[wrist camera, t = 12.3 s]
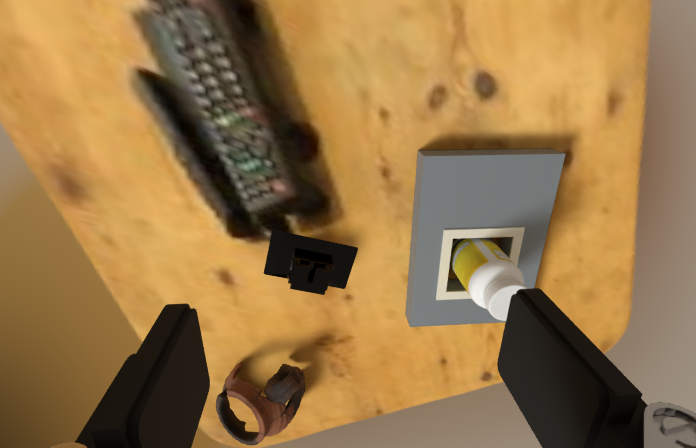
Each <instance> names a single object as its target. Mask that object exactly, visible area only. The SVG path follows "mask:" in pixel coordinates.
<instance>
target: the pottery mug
mask: <svg viewBox="0 0 696 448" xmlns="http://www.w3.org/2000/svg"><path fill="white" fill-rule="evenodd" d="M241 367H242V366H241V364H239V365H237V366H236V367H235V368H234V369H233V370H232V371H231V373H230V374H229V375H228V377H227V378H226V380H225V384H224V387H223V392H222V393H221V394H219V395H218V397H217V400H216V410H217V413H218V415H219V419H220V421H221V423H222V424H223V426H224V428H225V429H226V430H227V431H228V433H229V434H230V435H231V436H232V437H234V438H235V439H236V440H238V441H239V442H241V443H244V444H246V445H256V444H258V443H260V442H261V441H262V440H263V439H264V437H265V436H267V437H268V436H273V435H275V434H278V433H280V432H281V431H282V430H283V429H285V428H286V427H287V425H288V424H289V423H290V422H291V420H292V419H293V418H294V416H295V414H296V412H297V410H298V408H299V406H300V402H301V399H302V396H303V394H304V392H305V381H304V379H305V378H304V374H303V371H302V370H300V369H299V368H298V367H292V366H290V365H287V364H282V366H281V367H280V369H279V371H278V372H277V373H276V374H274V375H273V377H272V378H270V379H269V381H268V382H267V386H266V388H265V395H266V396H267V397H264V396H261V395H260V393H261V388H259V387H256V386H254V385H252V384H250V383H247V382H244V381H242V380H239V379H235V378H236V375H237V373H238V371H239V370H240V369H241ZM227 395H228V396H229V397H234V398H238V399H239V400H241V401H242V402H244V403H245V404H246V405H247V406H248V407H249V408H250V409H251V410H252V412H253V413H254V415H255V417H256V419H257V421H258V425H259V432H247V431H245V424H246V422H244V421H240V420H239V419H238V418H237V417H236V416H235V414H234V412H233V411H232V410H231V409H230V404H229V400H228V397H227ZM289 399H290V400H289ZM288 400H289V402H288V404H287V406H286V405H285V404H286V402H287V401H288Z"/></svg>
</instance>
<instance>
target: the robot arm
mask: <svg viewBox="0 0 696 448" xmlns="http://www.w3.org/2000/svg"><path fill="white" fill-rule="evenodd" d="M497 364H498V371H499V373H500V376H501V377H502V379H503V381H504V382H505V384H506V386H507V387H508V389H509V391H510V393H511V394H512V396H513V397H514V400H515V401H516V403H517V405H518V406H519V408H520V410H521V411H522V413H523V415H524V417H525V418H526V420H527V422H528V424H529V425H530V427H531V429H532V431H533V432H534V434H535V435H536V437H537V439H538V441H539V443H540V444H541V446H542V448H696V413H694V412H692V411H690V410H687V409H685V408H683V407H680V406H677V405H674V404H671V403H663V402H657V403H651V404H650V405H647V404H646V403H645V402H644V401H643V400H642V399H641V396H642V393H641V392H640V391H639V390H638V389H637V388H636V387H635V386H634V385H633V384H632V383H631V382H630V381H629V380H628V379H627V378H626V377H625V376H624V375H623V374H622V373H621V372H620V371H619V370H618V368H617V367H616V366H615V365H614V364H613V363H612V362H611V361H610V360H609V359H608V358H607V357H606V356H605V355H604V354H603V353H602V352H601V351H600V350H599V349H598V348H597V347H596V346H595V345H594V344H593V343H592V342H591V341H590V340H589V339H588V338H587V337H586V335H585V334H584V333H583V332H582V331H581V330H580V329H579V328H578V327H577V326H576V325H575V324H574V323H573V322H572V321H571V320H570V319H569V318H568V317H567V316H566V315H565V314H564V313H563V312H562V311H561V310H560V309H559V308H558V307H557V306H556V305H555V304H554V302H553V301H552V300H551V299H550V298H549V297H548V296H547V295H546V294H545V293H544V292H543V291H542V290H540V289H538V288H532V289H519V290H518V291H517V292H516V294H513V295H512V296H511V300H510V304H509V309H508V314H507V319H506V324H505V329H504V333H503V338H502V343H501V348H500V353H499V357H498V363H497ZM209 387H210V379H209V373H208V368H207V363H206V358H205V352H204V347H203V342H202V337H201V331H200V326H199V321H198V316H197V311H196V309H194V308H193V309H190V306H189V305H188V304H168V305H166V306H165V307H164V308H163V310H162V312H161V313H160V315H159V317H158V318H157V320H156V322H155V323H154V325H153V326H152V328H151V330H150V331H149V333H148V335H147V336H146V338H145V340H144V341H143V343H142V345H141V347H140V348H139V350H138V352H137V353H136V354H132V355H130V356H129V357H128V358H127V360H126V361H125V363H124V364H123V366H122V368H121V369H120V371H119V372H118V374H117V376H116V377H115V379H114V380H113V382H112V384H111V386H110V387H109V388H108V390H107V392H106V393H105V395H104V397H103V398H102V400H101V401H100V403H99V404H98V406H97V408H96V409H95V411H94V412H93V414H92V416H91V417H90V419H89V421H88V422H87V424H86V425H85V427H84V429H83V430H82V432H81V433H80V435H79V437H78V438H77V440H76V441H75V443H64V444H60V445H55V446H53V447H51V448H191V446H192V443H193V440H194V437H195V433H196V430H197V427H198V424H199V421H200V418H201V415H202V411H203V408H204V405H205V402H206V399H207V396H208V392H209Z"/></svg>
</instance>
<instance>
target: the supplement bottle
mask: <svg viewBox="0 0 696 448" xmlns="http://www.w3.org/2000/svg"><path fill="white" fill-rule="evenodd" d="M450 266H451V268H452V269H453V271H454V272H455V274H456V275H457V277H458V278H459V280H460V282H461V283H462V285H463V286H464V288H465V289H466V291H467V292H468V294H469V295H470V297H471V298H472V300H473V301H474V302H475V303H476V304H477V305H479V306H481V307H483V308H486V309H487V310H488V311H489V312H490V314H491V315H492V316H493V317H494V318H496V319H498V320H502V321H506V319H507V314H508V309H509V304H510V300H511V296H512V295H513V294H516V292H517V291H518V290H519V289H527V288H526V287H525V286H524V279H523V275H522V273H521V271H520V269H519V268H518V267H517V266H516V265H515V264H514V263H513V262H512V261H511V260H510V258H509V257H508V256H507V255H506V254H505V253H504V252H503V251H502V250H501V249H500V248H499V247H498V246H497V245H496V244H495V243H494V242H493V241H492V240H491V239H490V238H460V239H457V240H456V241H455V242H454V243H453V244H452V249H451V257H450Z"/></svg>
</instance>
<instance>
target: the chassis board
mask: <svg viewBox="0 0 696 448" xmlns="http://www.w3.org/2000/svg"><path fill="white" fill-rule="evenodd" d="M564 159H565V153H562V152H560V151H557V150H554V149H552V148H546V149H484V150H421V151H418V156H417V169H416V183H415V196H414V209H413V222H412V235H411V248H410V261H409V274H408V287H407V300H406V313H405V314H406V317H407V320H408V323H409V326H410V327H419V326H439V325H459V324H479V323H498V322H506V321H502V320H498V319H496V318H494V317H493V316H492V315H491V314H490V312H489V311H488V310H487V309H486V308H483V307H481V306H479V305H477V304H476V303H475V302H474V301H473V300H472V298H471V297H470V295H469V294H468V292H467V291H466V289H465V288H464V286H463V285H462V283H461V282H460V280H459V279H448V273H449V265H450V257H451V249H452V241H453V239H460V238H490V237H501V240H500V245H499V248H500V249H501V250H502V251H503V252H504V253H505V254H506V255H507V256H508V257H509V258H510V260H511V261H512V262H513V263H514V264H515V265H516V266H517V267H518V268H519V269H520V271H521V273H522V275H523V279H524V286H525V287H526V288H527V289H532V288H534V287H535V282H536V278H537V274H538V270H539V265H540V261H541V257H542V253H543V248H544V244H545V240H546V235H547V231H548V227H549V223H550V218H551V214H552V210H553V206H554V201H555V197H556V193H557V188H558V184H559V180H560V176H561V171H562V167H563V163H564Z"/></svg>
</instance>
